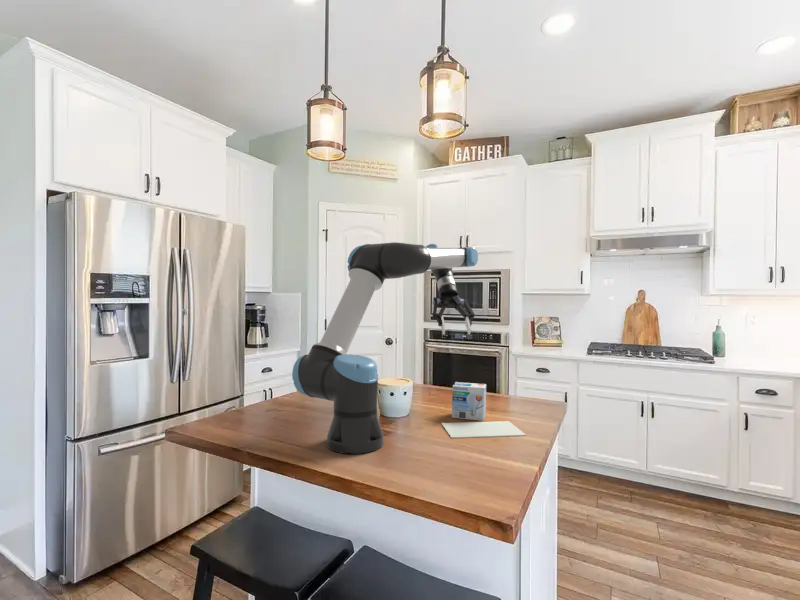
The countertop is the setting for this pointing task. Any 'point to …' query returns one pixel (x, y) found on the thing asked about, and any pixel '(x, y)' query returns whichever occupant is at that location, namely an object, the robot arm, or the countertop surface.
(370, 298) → the robot arm
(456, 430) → the board
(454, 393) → the light bulb box
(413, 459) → the countertop surface
